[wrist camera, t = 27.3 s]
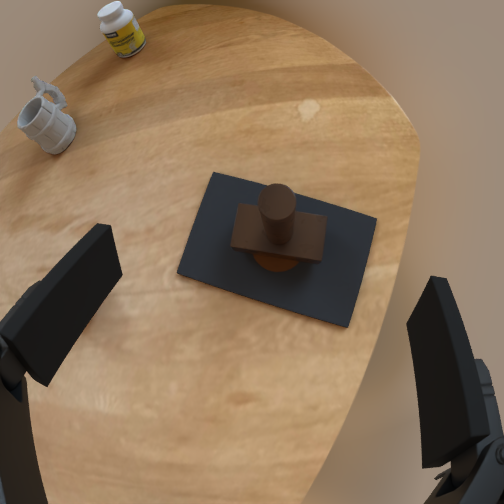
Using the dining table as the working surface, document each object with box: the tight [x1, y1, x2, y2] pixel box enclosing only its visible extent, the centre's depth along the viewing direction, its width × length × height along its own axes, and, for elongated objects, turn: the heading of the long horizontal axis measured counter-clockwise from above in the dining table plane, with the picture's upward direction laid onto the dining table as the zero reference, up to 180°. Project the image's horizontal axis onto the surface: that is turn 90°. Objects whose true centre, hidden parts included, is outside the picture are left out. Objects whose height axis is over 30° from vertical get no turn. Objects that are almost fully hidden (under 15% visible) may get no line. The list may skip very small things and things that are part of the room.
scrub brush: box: [230, 184, 328, 264], centre depth 31 cm, size 10×5×14 cm, turn 80°
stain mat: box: [177, 172, 377, 328], centre depth 38 cm, size 22×14×1 cm, turn 72°
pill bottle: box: [98, 1, 146, 57], centre depth 42 cm, size 6×6×12 cm
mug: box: [17, 76, 76, 154], centre depth 40 cm, size 8×12×12 cm, turn 3°
